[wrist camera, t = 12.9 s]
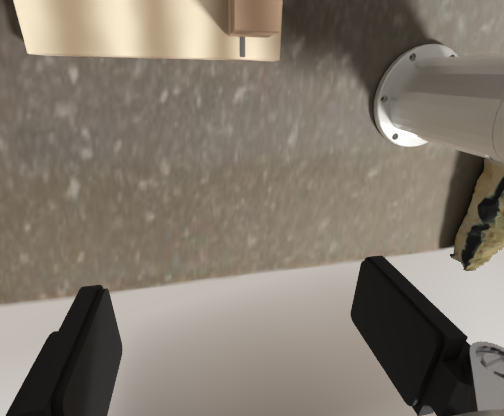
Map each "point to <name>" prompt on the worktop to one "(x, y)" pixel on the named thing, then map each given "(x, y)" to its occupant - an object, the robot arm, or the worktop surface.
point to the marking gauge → (254, 18)
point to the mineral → (483, 219)
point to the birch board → (138, 30)
